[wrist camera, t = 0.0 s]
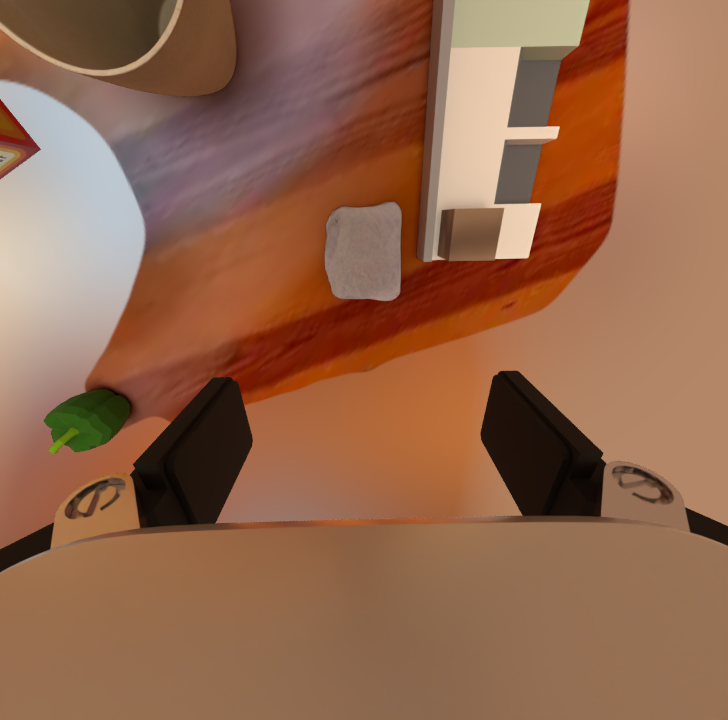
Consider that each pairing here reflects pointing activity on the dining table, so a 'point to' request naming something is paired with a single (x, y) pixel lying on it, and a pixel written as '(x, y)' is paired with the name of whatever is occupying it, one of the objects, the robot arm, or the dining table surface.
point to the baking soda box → (13, 142)
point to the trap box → (491, 110)
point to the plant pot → (131, 41)
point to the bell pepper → (87, 420)
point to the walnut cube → (469, 234)
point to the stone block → (364, 252)
